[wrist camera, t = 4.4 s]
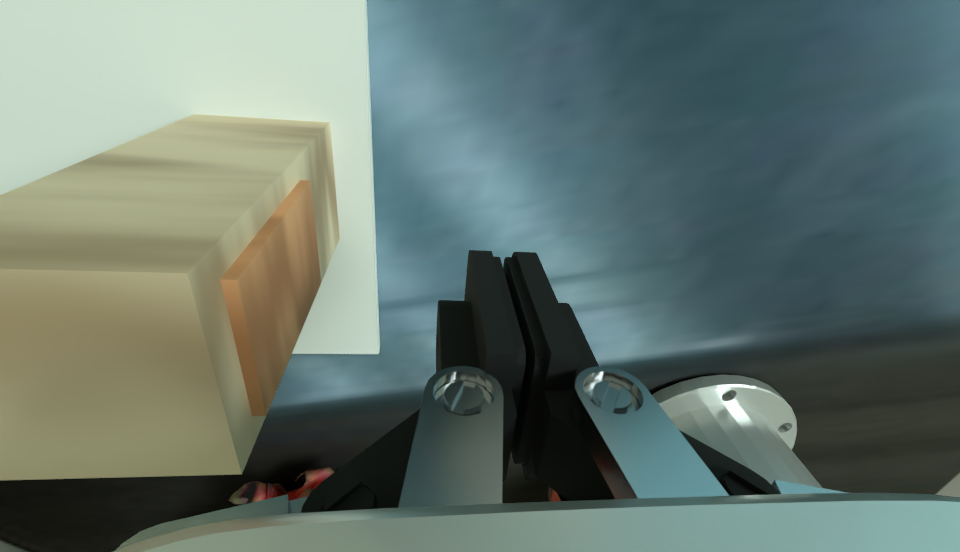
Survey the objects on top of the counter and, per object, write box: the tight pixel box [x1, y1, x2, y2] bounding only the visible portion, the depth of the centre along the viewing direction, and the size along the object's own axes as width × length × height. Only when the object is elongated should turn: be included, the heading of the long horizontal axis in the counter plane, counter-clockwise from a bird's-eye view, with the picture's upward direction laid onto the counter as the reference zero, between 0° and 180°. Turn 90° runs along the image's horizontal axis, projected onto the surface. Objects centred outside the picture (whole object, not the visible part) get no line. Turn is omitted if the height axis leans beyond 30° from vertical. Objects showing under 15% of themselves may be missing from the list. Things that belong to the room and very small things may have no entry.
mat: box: [0, 0, 380, 354], centre depth 18 cm, size 18×20×1 cm
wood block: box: [0, 114, 340, 480], centre depth 14 cm, size 5×5×12 cm
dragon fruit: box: [229, 466, 334, 504], centre depth 27 cm, size 8×8×12 cm
